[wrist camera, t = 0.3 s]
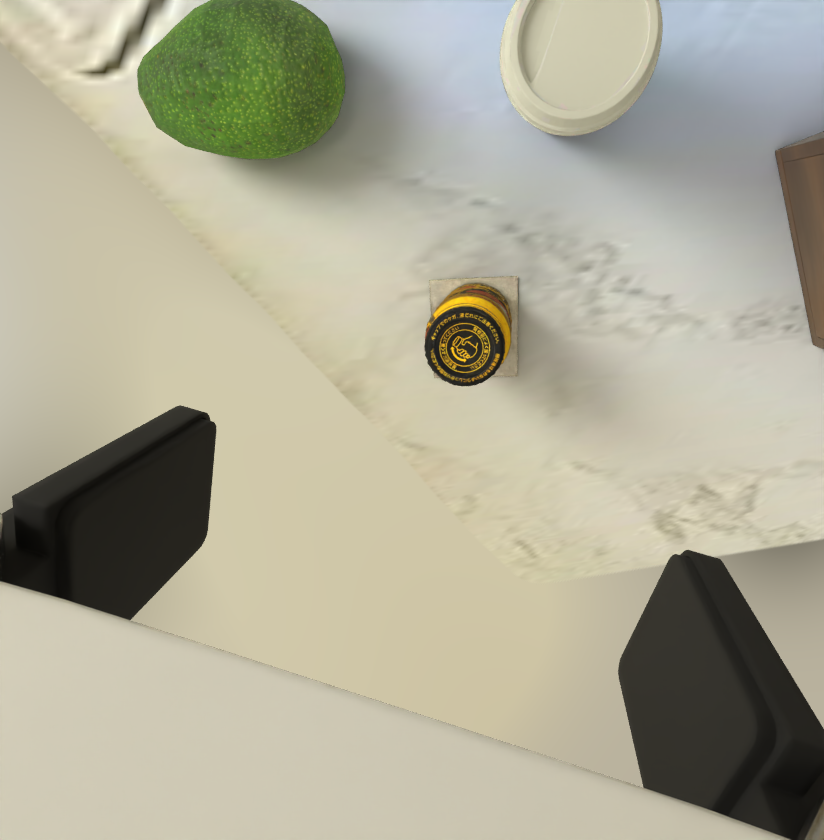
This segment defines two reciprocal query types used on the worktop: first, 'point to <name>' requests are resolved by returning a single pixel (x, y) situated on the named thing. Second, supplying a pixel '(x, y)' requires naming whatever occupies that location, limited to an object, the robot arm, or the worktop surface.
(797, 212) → the cabinet
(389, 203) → the worktop surface
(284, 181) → the worktop surface
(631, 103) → the coffee cup
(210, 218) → the worktop surface
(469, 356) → the condiment
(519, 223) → the worktop surface
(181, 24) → the fruit
